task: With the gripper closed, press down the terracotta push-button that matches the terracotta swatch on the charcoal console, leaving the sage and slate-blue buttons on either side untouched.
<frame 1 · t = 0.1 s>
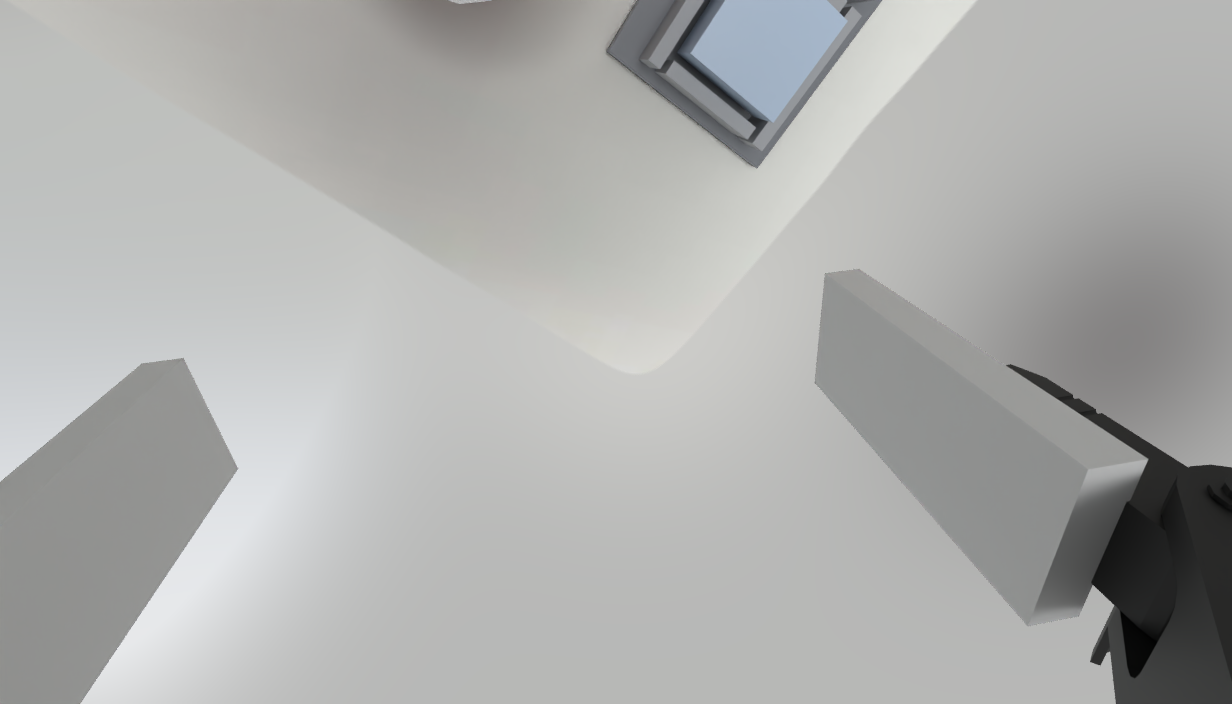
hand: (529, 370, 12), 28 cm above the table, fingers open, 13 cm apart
button slate: (759, 37, 32), point 4 cm above the table, slide at 0.0 cm
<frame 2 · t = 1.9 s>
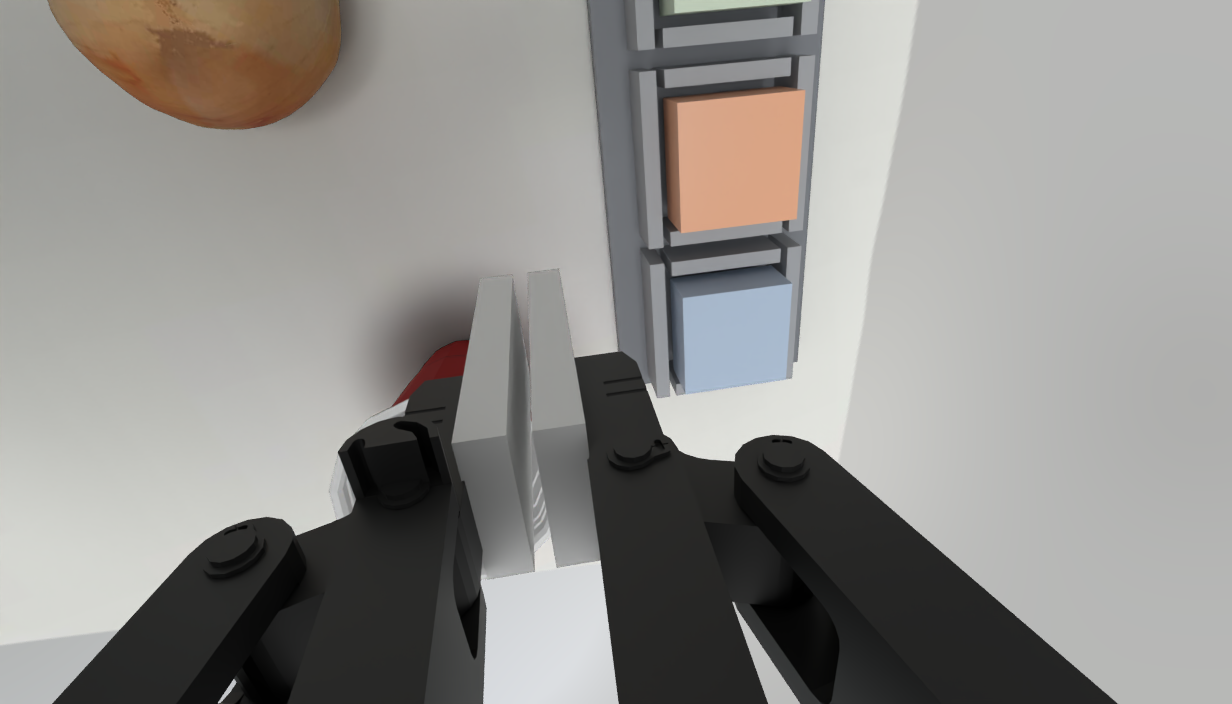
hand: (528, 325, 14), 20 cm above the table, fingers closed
console: (705, 57, 31), on the table
button terracotta: (730, 159, 29), point 4 cm above the table, slide at 0.0 cm
button slate: (728, 329, 34), point 4 cm above the table, slide at 0.0 cm
plastic cup: (471, 373, 38), on the table
onion: (254, 4, 27), on the table
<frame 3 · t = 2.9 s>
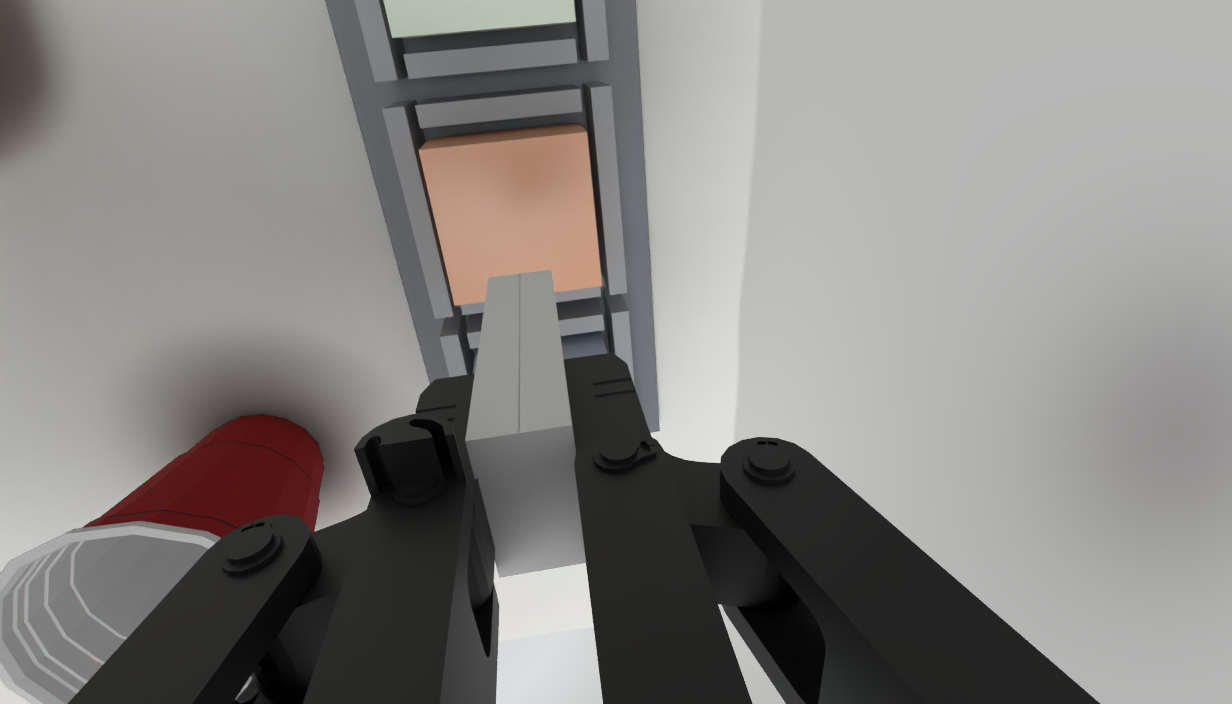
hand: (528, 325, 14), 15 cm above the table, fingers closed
console: (500, 84, 25), on the table
button terracotta: (517, 213, 24), point 4 cm above the table, slide at 0.0 cm
button slate: (548, 408, 28), point 4 cm above the table, slide at 0.0 cm
plastic cup: (269, 451, 32), on the table
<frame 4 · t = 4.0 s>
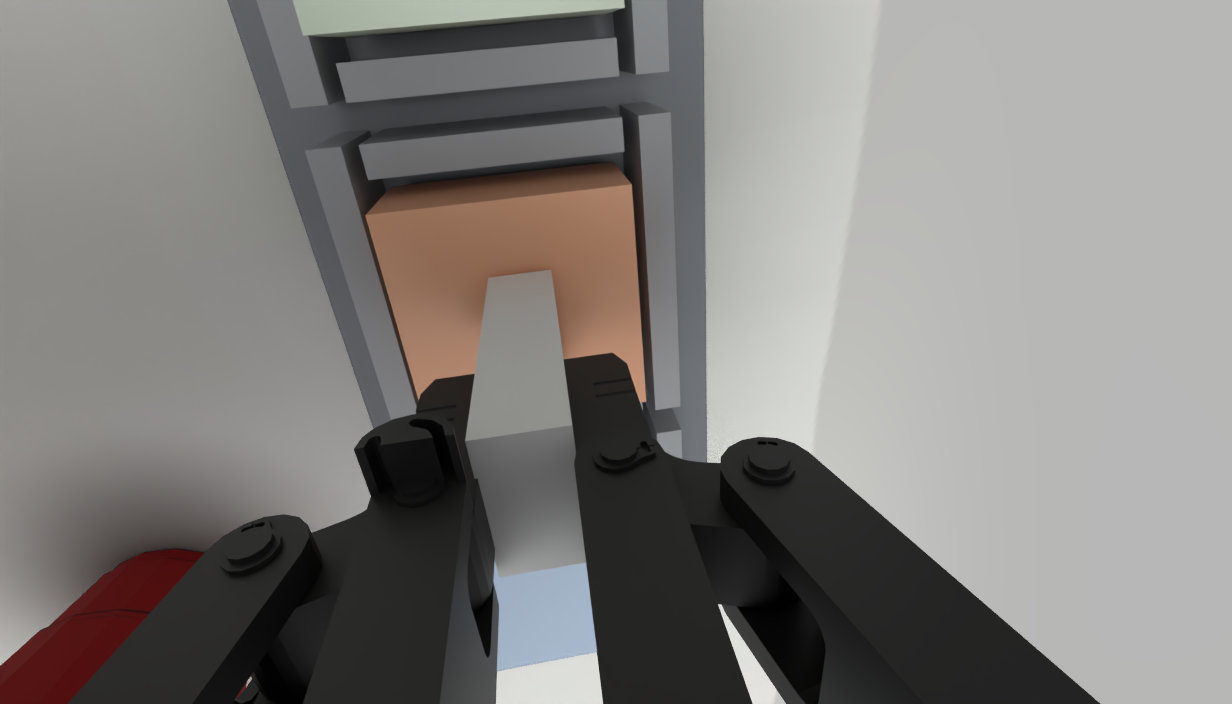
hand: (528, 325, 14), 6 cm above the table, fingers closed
console: (496, 106, 17), on the table
button terracotta: (521, 296, 16), point 4 cm above the table, slide at 0.6 cm, touching gripper
button slate: (565, 559, 20), point 4 cm above the table, slide at 0.0 cm
plastic cup: (187, 590, 24), on the table
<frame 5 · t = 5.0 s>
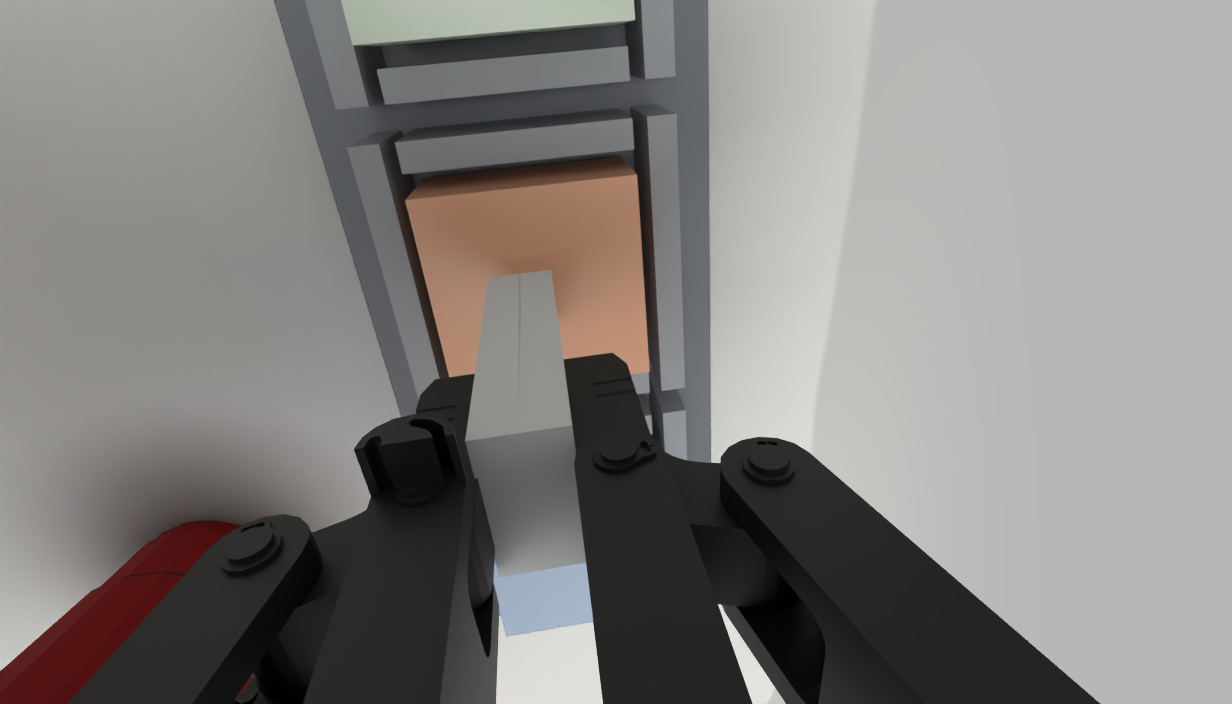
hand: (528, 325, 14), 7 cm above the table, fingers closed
console: (517, 108, 19), on the table
button terracotta: (538, 276, 18), point 3 cm above the table, slide at 1.1 cm
button slate: (576, 532, 21), point 4 cm above the table, slide at 0.0 cm
plastic cup: (222, 561, 26), on the table
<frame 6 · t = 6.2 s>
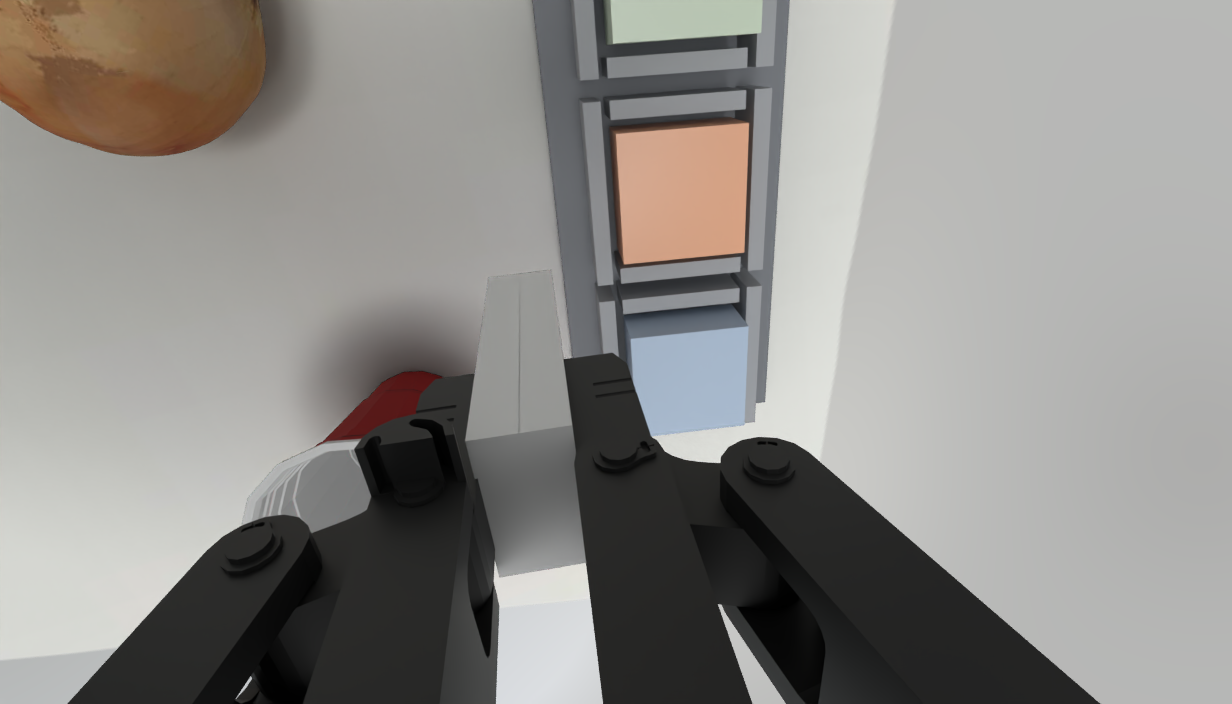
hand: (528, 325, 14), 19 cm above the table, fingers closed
console: (662, 86, 29), on the table
button terracotta: (677, 190, 29), point 3 cm above the table, slide at 1.1 cm
button slate: (684, 370, 32), point 5 cm above the table, slide at 0.0 cm
plastic cup: (421, 405, 36), on the table
onion: (185, 25, 26), on the table
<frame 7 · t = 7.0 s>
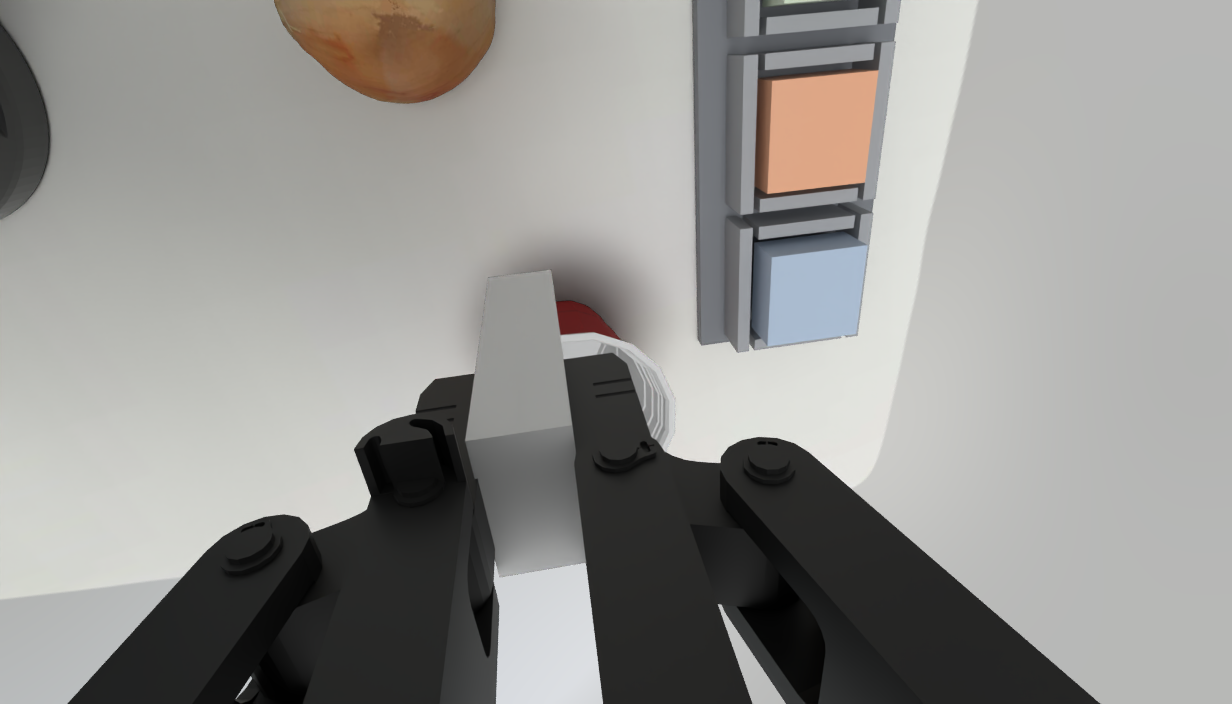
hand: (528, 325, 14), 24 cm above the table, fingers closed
console: (790, 44, 35), on the table
button terracotta: (809, 130, 34), point 3 cm above the table, slide at 1.1 cm
button slate: (805, 288, 38), point 4 cm above the table, slide at 0.0 cm
plastic cup: (565, 332, 42), on the table
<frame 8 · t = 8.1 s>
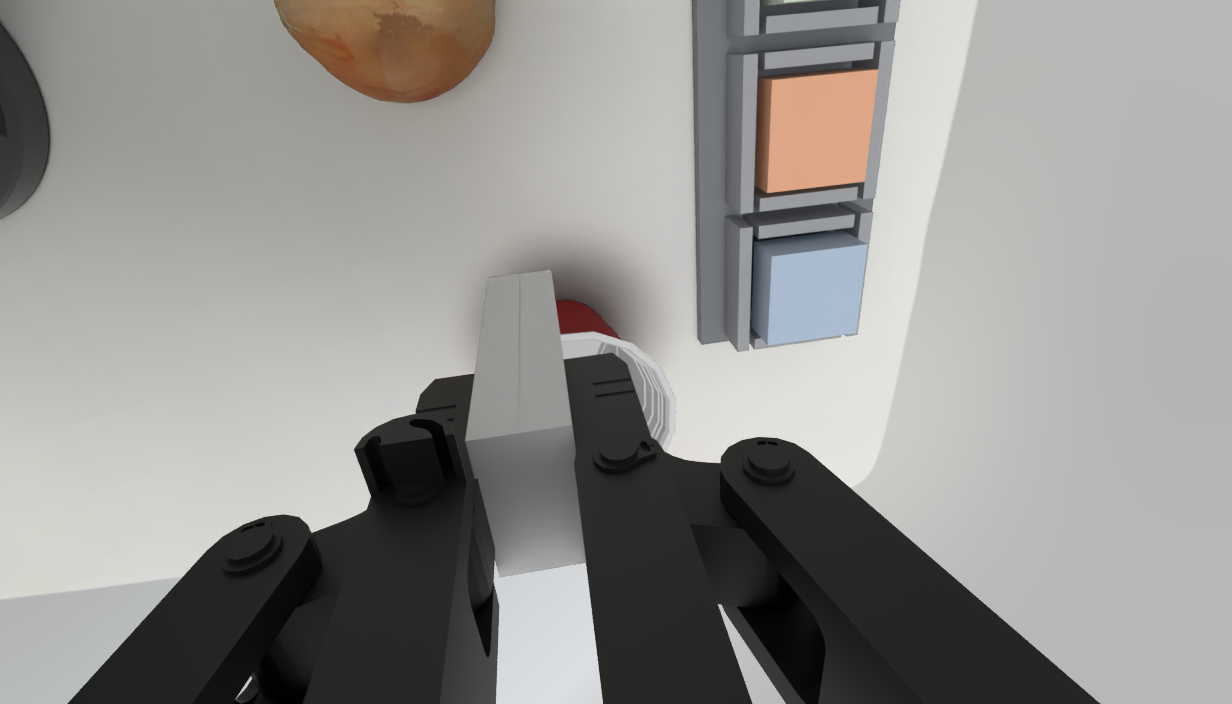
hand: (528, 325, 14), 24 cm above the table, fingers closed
console: (790, 43, 35), on the table
button terracotta: (809, 130, 34), point 3 cm above the table, slide at 1.1 cm
button slate: (805, 287, 38), point 4 cm above the table, slide at 0.0 cm
plastic cup: (565, 331, 42), on the table
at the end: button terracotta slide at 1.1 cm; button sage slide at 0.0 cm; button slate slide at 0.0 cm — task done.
